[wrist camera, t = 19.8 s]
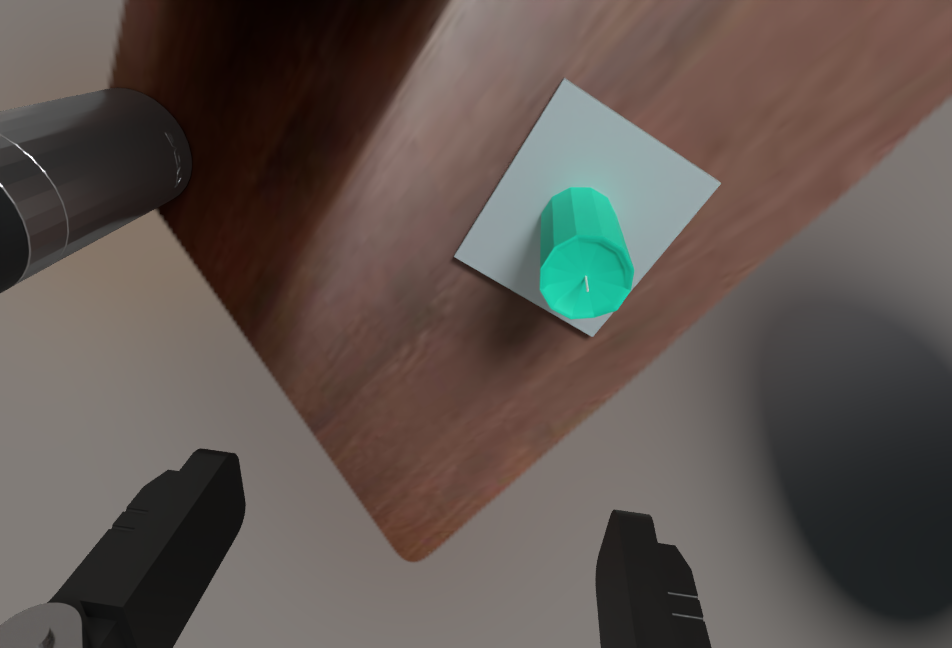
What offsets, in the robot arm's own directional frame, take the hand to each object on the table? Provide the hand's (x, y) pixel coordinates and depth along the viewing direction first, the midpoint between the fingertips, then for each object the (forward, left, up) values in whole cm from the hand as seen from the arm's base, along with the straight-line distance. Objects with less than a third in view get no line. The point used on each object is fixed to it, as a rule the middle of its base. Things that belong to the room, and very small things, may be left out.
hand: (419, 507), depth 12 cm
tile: (+6, -5, -36) cm, 37 cm away
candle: (+6, -6, -36) cm, 36 cm away
